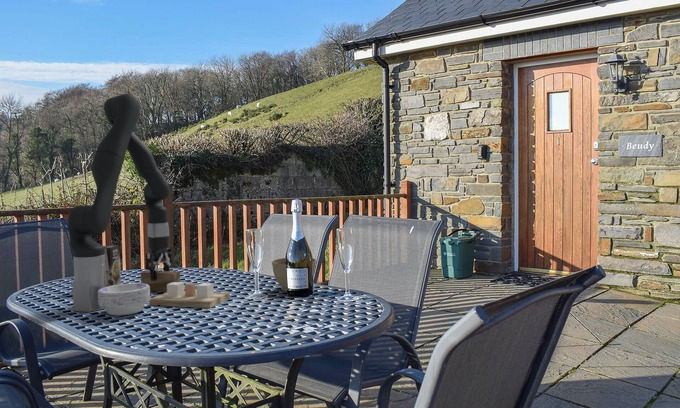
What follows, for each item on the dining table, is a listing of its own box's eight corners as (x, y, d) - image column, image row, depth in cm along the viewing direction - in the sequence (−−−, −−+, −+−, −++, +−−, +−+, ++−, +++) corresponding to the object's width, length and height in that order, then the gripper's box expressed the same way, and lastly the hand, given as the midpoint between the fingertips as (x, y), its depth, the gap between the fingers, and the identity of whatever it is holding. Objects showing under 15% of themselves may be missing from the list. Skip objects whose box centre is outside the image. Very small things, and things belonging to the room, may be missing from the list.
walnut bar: (174, 292, 203) (174, 273, 203) (141, 291, 207) (140, 272, 206) (180, 290, 207) (180, 271, 206) (147, 288, 210) (147, 270, 210)
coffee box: (111, 291, 207) (110, 248, 206) (94, 291, 207) (92, 248, 206) (121, 286, 216) (120, 244, 215) (105, 286, 216) (103, 245, 215)
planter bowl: (293, 283, 215) (293, 255, 214) (325, 288, 205) (325, 259, 204) (263, 290, 202) (262, 261, 202) (295, 296, 192) (294, 265, 192)
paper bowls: (92, 312, 175) (91, 287, 174) (140, 304, 184) (139, 280, 184) (107, 321, 163) (106, 294, 163) (158, 312, 173) (157, 287, 172)
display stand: (210, 308, 177) (209, 289, 177) (149, 305, 183) (148, 286, 183) (229, 298, 191) (229, 281, 190) (173, 295, 196) (172, 279, 196)
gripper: (160, 232, 214) (162, 274, 215) (138, 237, 200) (140, 281, 201) (177, 232, 212) (179, 275, 213) (156, 237, 198) (158, 282, 199)
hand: (160, 278), depth 207 cm, fingers open, 8 cm apart
